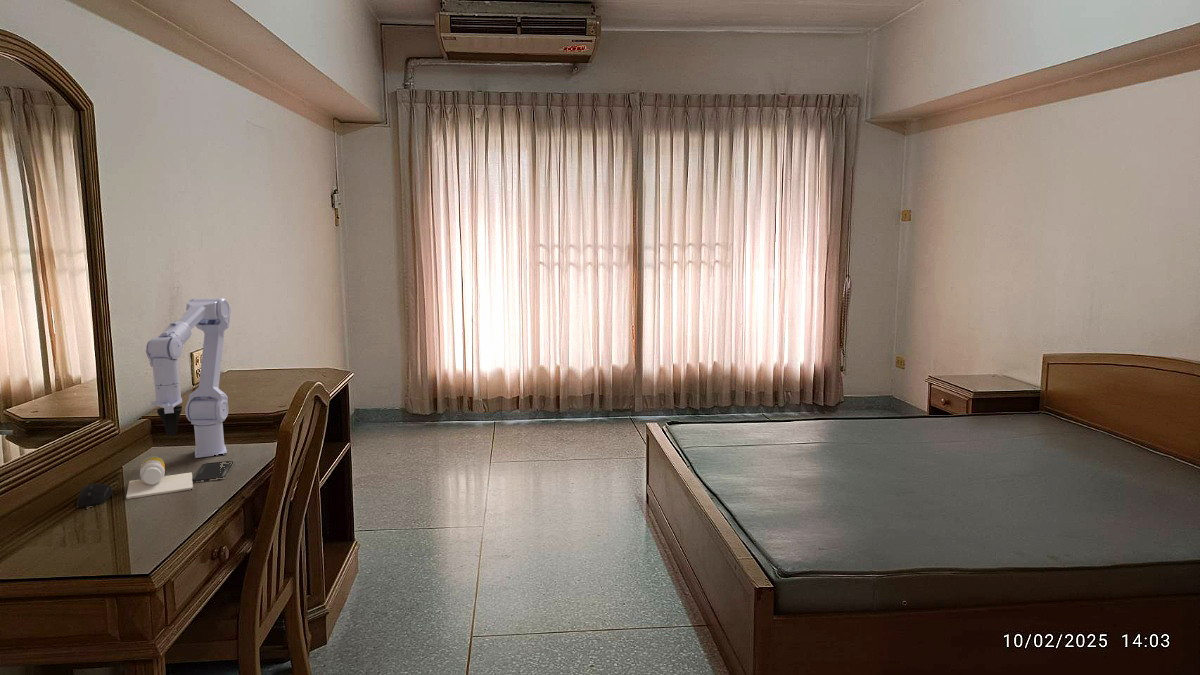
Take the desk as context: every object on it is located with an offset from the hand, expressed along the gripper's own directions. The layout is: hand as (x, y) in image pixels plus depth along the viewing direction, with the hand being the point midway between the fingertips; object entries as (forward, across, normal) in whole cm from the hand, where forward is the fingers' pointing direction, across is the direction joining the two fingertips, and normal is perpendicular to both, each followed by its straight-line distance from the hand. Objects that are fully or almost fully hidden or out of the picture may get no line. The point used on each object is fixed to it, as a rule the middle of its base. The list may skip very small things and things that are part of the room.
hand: (172, 435), depth 206 cm
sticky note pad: (+10, +10, -3) cm, 15 cm away
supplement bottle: (+7, +2, -5) cm, 9 cm away
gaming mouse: (+11, +15, -17) cm, 25 cm away
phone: (+11, +5, +9) cm, 15 cm away
